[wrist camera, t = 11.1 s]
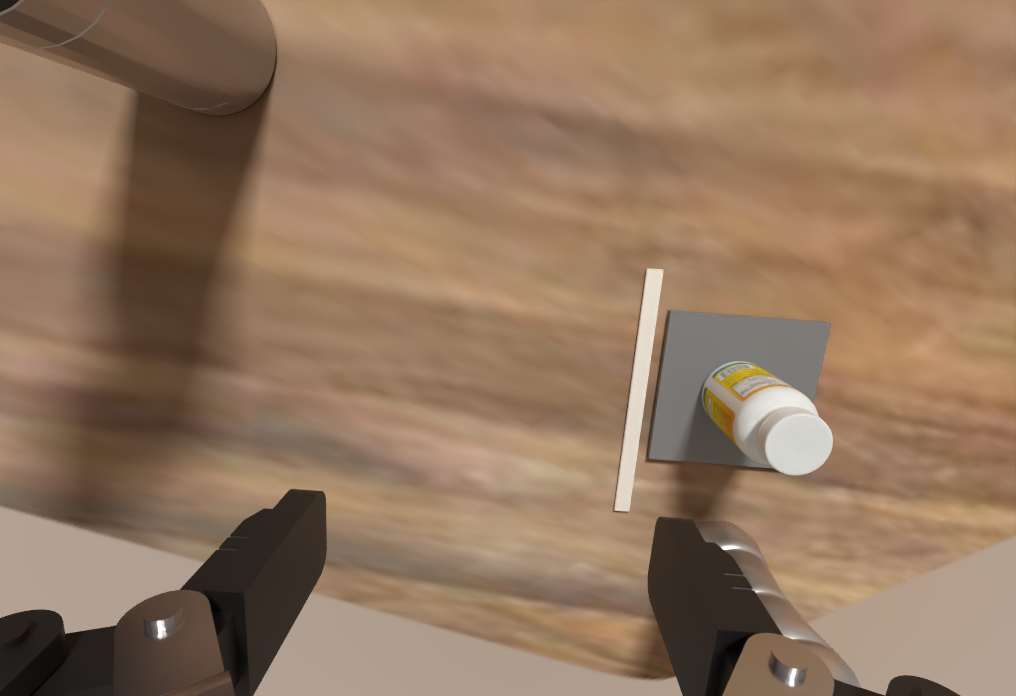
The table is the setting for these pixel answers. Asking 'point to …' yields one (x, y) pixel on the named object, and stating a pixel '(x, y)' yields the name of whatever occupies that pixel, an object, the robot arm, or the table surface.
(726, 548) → the plastic bottle
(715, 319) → the mat
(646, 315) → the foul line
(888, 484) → the table surface
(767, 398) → the supplement bottle
